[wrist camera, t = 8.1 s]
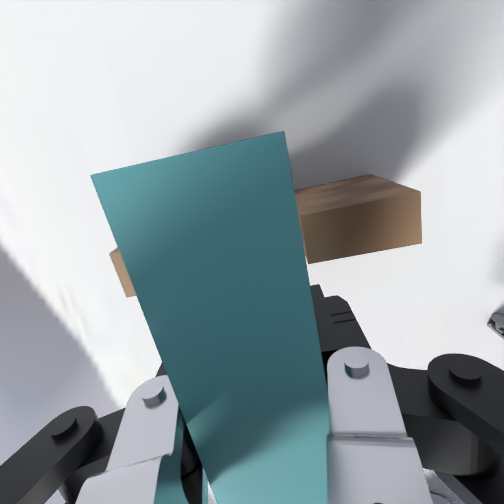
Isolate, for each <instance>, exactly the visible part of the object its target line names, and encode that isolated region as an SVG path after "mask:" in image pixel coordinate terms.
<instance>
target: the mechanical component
mask: <svg viewBox="0 0 504 504" xmlns="http://www.w3.org/2000/svg"><path fill="white" fill-rule="evenodd" d="M492 320H493V321H495V322H496V323H495V324H492V323H490V324H488V325H487V326H488V327H490V328H491V329H492V330H493V331H494V332H495V333H497V334H498V335H499V336H500V337H501V338H503V339H504V316H503V315H502V314H499V313H497V314H493V315H492Z"/></svg>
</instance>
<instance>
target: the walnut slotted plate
mask: <svg viewBox="0 0 504 504" xmlns="http://www.w3.org/2000/svg"><path fill="white" fill-rule="evenodd" d="M294 193H295V199H296V205H297V211H298V217H299V223H300V229H301V235H302V241H303V247H304V253H305V256H306V259H307V262H308V264H311V263H317V262H322V261H328V260H333V259H339V258H344V257H350V256H355V255H361V254H366V253H372V252H377V251H383V250H388V249H393V248H399V247H404V246H410V245H415V244H421V243H422V229H421V192H420V191H417V190H415V189H412V188H409V187H406V186H403V185H400V184H397V183H394V182H391V181H389V180H386V179H383V178H380V177H377V176H374V175H366V176H362V177H357V178H352V179H347V180H343V181H338V182H333V183H328V184H323V185H319V186H314V187H309V188H304V189H299V190H295V191H294ZM110 257H111V259H112V262H113V264H114V267H115V269H116V272H117V274H118V277H119V279H120V282H121V284H122V287H123V289H124V292H125V294H126V297H131V296H137V295H136V293H135V290H134V287H133V285H132V282H131V280H130V277H129V274H128V272H127V269H126V267H125V264H124V261H123V259H122V256H121V254H120V251H119V249H118V247H117V248H116V249H115V250H113V251H112V252H111V253H110Z"/></svg>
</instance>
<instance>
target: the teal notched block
mask: <svg viewBox="0 0 504 504" xmlns="http://www.w3.org/2000/svg"><path fill="white" fill-rule="evenodd" d="M90 176H91V179H92V181H93V184H94V186H95V189H96V192H97V194H98V197H99V199H100V202H101V205H102V207H103V210H104V212H105V215H106V217H107V220H108V223H109V225H110V228H111V230H112V233H113V236H114V238H115V241H116V243H117V246H118V249H119V251H120V254H121V256H122V259H123V261H124V264H125V267H126V269H127V272H128V274H129V277H130V280H131V282H132V285H133V287H134V290H135V293H136V295H137V298H138V300H139V303H140V305H141V308H142V311H143V313H144V316H145V318H146V321H147V324H148V326H149V329H150V331H151V334H152V337H153V339H154V342H155V344H156V347H157V349H158V352H159V355H160V357H161V360H162V362H163V365H164V368H165V370H166V373H167V375H168V378H169V381H170V383H171V386H172V388H173V391H174V393H175V396H176V399H177V401H178V404H179V406H180V409H181V412H182V414H183V417H184V419H185V422H186V425H187V427H188V430H189V432H190V435H191V437H192V440H193V443H194V445H195V448H196V450H197V453H198V456H199V458H200V461H201V463H202V466H203V469H204V471H205V474H206V476H207V479H208V481H209V484H210V487H211V489H212V492H213V494H214V497H215V500H216V502H217V504H328V500H327V453H326V439H327V434H329V403H328V392H327V385H326V379H325V373H324V367H323V361H322V355H321V349H320V343H319V337H318V331H317V325H316V319H315V313H314V307H313V301H312V295H311V289H310V283H309V277H308V271H307V265H306V259H305V253H304V247H303V241H302V235H301V229H300V223H299V217H298V211H297V205H296V199H295V193H294V187H293V181H292V175H291V169H290V163H289V157H288V151H287V145H286V139H285V133H284V131H281V132H277V133H272V134H268V135H263V136H259V137H255V138H250V139H246V140H242V141H237V142H233V143H229V144H224V145H220V146H215V147H211V148H207V149H202V150H198V151H194V152H189V153H185V154H180V155H176V156H172V157H167V158H163V159H159V160H154V161H150V162H146V163H141V164H137V165H132V166H128V167H124V168H119V169H115V170H111V171H106V172H102V173H97V174H93V175H90Z"/></svg>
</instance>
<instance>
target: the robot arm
mask: <svg viewBox="0 0 504 504" xmlns="http://www.w3.org/2000/svg"><path fill="white" fill-rule="evenodd" d="M310 289H311V295H312V301H313V307H314V313H315V319H316V325H317V331H318V337H319V343H320V349H321V355H322V361H323V367H324V373H325V379H326V385H327V392H328V403H329V434H327V439H326V453H327V500H328V504H451V503H450V502H449V501H448V500H447V499H445V498H444V497H441V496H439V495H436V494H432V493H430V491H429V488H428V485H427V481H426V478H425V475H424V471H423V468H425V469H430V470H434V471H435V473H436V474H437V475H438V476H439V478H440V479H441V480H442V481H443V482H444V483H445V484H446V485H447V486H448V487H449V488H450V489H451V490H452V491H453V492H454V493H455V494H456V495H457V496H458V497H459V498H460V499H461V500H462V501H463V502H464V503H465V504H504V371H503V370H501V369H499V368H498V367H496V366H494V365H492V364H490V363H488V362H486V361H484V360H482V359H480V358H477V357H474V356H470V355H465V354H444V355H440V356H438V357H436V358H434V359H433V360H432V361H431V362H430V363H429V365H428V369H427V370H418V369H407V368H401V367H397V366H393V365H391V364H388V363H386V361H385V359H384V358H383V357H382V356H381V355H380V354H379V353H377V352H375V351H374V350H372V349H371V347H370V345H369V343H368V341H367V339H366V337H365V335H364V333H363V332H362V330H361V328H360V326H359V324H358V322H357V321H356V318H355V316H354V314H353V313H352V310H351V308H350V306H349V304H348V302H347V301H345V300H344V299H342V298H341V297H339V296H338V295H336V296H331V297H325V298H324V295H323V293H322V290H321V287H320V285H319V284H318V285H312V286H310ZM57 489H58V490H59V492H60V493H61V495H62V496H63V498H64V500H65V501H66V503H65V504H208V479H207V476H206V474H205V471H204V469H203V466H202V463H201V461H200V458H199V456H198V453H197V450H196V448H195V445H194V443H193V440H192V437H191V435H190V432H189V430H188V427H187V425H186V422H185V419H184V417H183V414H182V412H181V409H180V406H179V404H178V401H177V399H176V396H175V393H174V391H173V388H172V386H171V383H170V381H169V378H168V375H167V373H166V370H165V368H164V365H163V362H162V363H161V366H160V368H159V370H158V372H157V375H156V377H155V378H152V379H150V380H148V381H146V382H145V383H143V384H142V385H140V386H139V387H138V388H137V389H136V390H135V391H134V392H133V393H132V395H131V396H130V398H129V400H128V402H127V405H126V408H123V409H121V410H119V411H116V412H114V413H111V414H109V415H106V416H104V417H101V418H99V419H98V417H97V415H96V413H95V411H94V410H93V409H92V408H91V407H88V406H80V407H76V408H73V409H70V410H68V411H66V412H64V413H62V414H61V415H59V416H58V417H56V418H55V419H53V420H52V421H51V422H50V423H49V424H47V425H46V426H45V427H44V428H43V429H42V430H40V431H39V432H38V433H37V434H36V435H35V436H34V437H33V438H31V439H30V440H29V441H28V442H27V443H26V444H25V445H23V446H22V447H21V448H20V449H19V450H18V451H17V452H16V453H14V454H13V455H12V456H11V457H10V458H9V459H8V460H7V461H6V462H4V463H3V464H2V465H1V466H0V504H44V503H45V502H46V501H47V500H48V499H49V498H50V497H51V496H52V495H53V494H54V493H55V491H56V490H57Z"/></svg>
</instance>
